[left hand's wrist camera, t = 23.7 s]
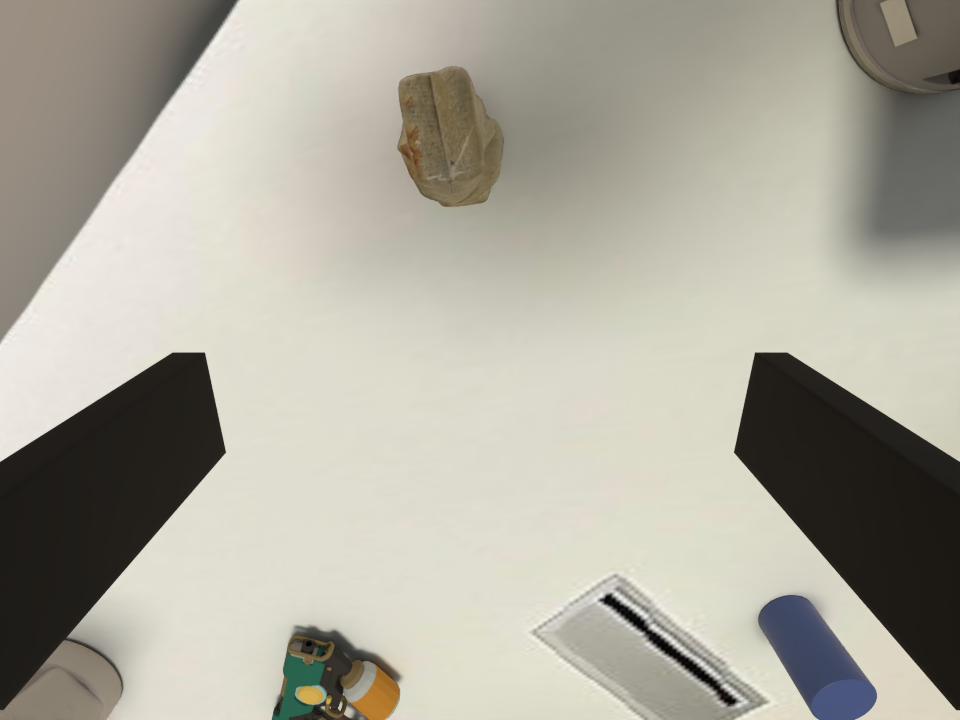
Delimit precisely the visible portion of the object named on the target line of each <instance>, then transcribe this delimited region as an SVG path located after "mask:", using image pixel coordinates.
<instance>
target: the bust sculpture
mask: <svg viewBox="0 0 960 720" xmlns="http://www.w3.org/2000/svg"><path fill="white" fill-rule="evenodd" d="M121 691H122V687H121V682H120V679H119V676H118V674H117V673H116V671H115V670H114V668H113V667H112V666H111V665H110V664H109V663H108V662H107V661H106V660H105V659H104V658H103V657H101V656H100V655H99V654H97V653H96V652H94V651H92V650H90V649H88V648H86V647H84V646H82V645H79V644H76V643H73V642H70V641H66V640H64V641H63V642H62V643H61V644H60V645H59V647H58V648H57V649H56V650H55V651H54V652H53V653H52V655H51V656H50V657H49V658H48V659H47V660H46V662H45V663H44V664H43V665H42V666H41V667H40V669H39V670H38V671H37V672H36V673H35V674H34V676H33V677H32V678H31V679H30V680H29V681H28V682H27V684H26V685H25V686H24V687H23V688H22V689H21V691H20V692H19V693H18V694H17V695H16V696H15V698H14V699H13V700H12V701H11V702H10V703H9V704H8V706H7V707H6V708H5V709H4V710H0V720H106V719H107V718H108V716H109V715H110V713H111V712H112V710H113V708H114V707H115V705H116V704H117V702H118V701H119V699H120V696H121Z"/></svg>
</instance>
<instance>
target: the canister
mask: <svg viewBox="0 0 960 720" xmlns="http://www.w3.org/2000/svg"><path fill="white" fill-rule="evenodd" d="M759 625H760V627H761V629H762V631H763V632H764V634H765V636H766V637H767V639H768V641H769V642H770V644H771V646H772V647H773V649H774V651H775V652H776V654H777V656H778V657H779V659H780V661H781V662H782V664H783V666H784V667H785V669H786V671H787V672H788V674H789V676H790V677H791V679H792V681H793V682H794V684H795V686H796V687H797V689H798V691H799V692H800V694H801V696H802V697H803V699H804V701H805V702H806V704H807V706H808V707H809V709H810V711H811V712H812V714H813V715H814V716H815V717H816V718H817V719H819V720H855V719H857V718H859V717H861V716H863V715H864V714H866V713H867V712H868V711H869V710H870V709H871V708H872V707H873V706H874V704H875V702H876V699H877V693H876V690H875V688H874V687H873V685H872V684H871V682H870V681H869V680H868V678H867V677H866V676H865V674H864V673H863V672H862V670H861V669H860V668H859V666H858V665H857V664H856V662H855V661H854V660H853V658H852V657H851V656H850V654H849V653H848V652H847V650H846V649H845V648H844V646H843V645H842V644H841V642H840V641H839V640H838V638H837V637H836V636H835V634H834V633H833V632H832V630H831V629H830V628H829V626H828V625H827V624H826V622H825V621H824V620H823V618H822V617H821V615H820V614H819V613H818V611H817V610H816V609H815V607H814V606H813V605H812V603H811V602H810V601H808V600H807V599H805V598H803V597H799V596H785V597H781V598H778V599H776V600H773V601H772V602H770V603H769V604H767V605H766V606H765V607H764V608H763V610H762V611H761V613H760V616H759Z"/></svg>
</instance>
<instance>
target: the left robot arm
mask: <svg viewBox="0 0 960 720" xmlns="http://www.w3.org/2000/svg"><path fill="white" fill-rule="evenodd" d="M838 5H839V15H840V21H841V26H842V30H843V34H844V37H845V40H846V42H847V45H848V47H849V49H850V51H851V53H852V54H853V56H854V58H855V59H856V61H857V62H858V63H859V65H860V66H861V67H862V68H863V69H864V70H865V71H866V72H867V73H868V74H869V75H870V76H871V77H873V78H874V79H875V80H877V81H878V82H880V83H882V84H883V85H885V86H888V87H890V88H892V89H895V90H899V91H902V92H908V93H917V94H927V93H938V92H945V91H952V90H957V89H960V0H838ZM225 453H226V451H225V446H224V441H223V436H222V432H221V427H220V422H219V417H218V413H217V408H216V403H215V398H214V394H213V389H212V384H211V379H210V375H209V370H208V365H207V360H206V356H205V353H171V354H170V355H168V356H167V357H165V358H163V359H162V360H160V361H159V362H157V363H156V364H154V365H152V366H151V367H149V368H148V369H146V370H145V371H143V372H141V373H140V374H138V375H137V376H135V377H134V378H132V379H130V380H129V381H127V382H126V383H124V384H122V385H121V386H119V387H118V388H116V389H115V390H113V391H111V392H110V393H108V394H107V395H105V396H104V397H102V398H100V399H99V400H97V401H96V402H94V403H92V404H91V405H89V406H88V407H86V408H85V409H83V410H81V411H80V412H78V413H77V414H75V415H74V416H72V417H70V418H69V419H67V420H66V421H64V422H62V423H61V424H59V425H58V426H56V427H55V428H53V429H51V430H50V431H48V432H47V433H45V434H44V435H42V436H40V437H39V438H37V439H36V440H34V441H32V442H31V443H29V444H28V445H26V446H25V447H23V448H21V449H20V450H18V451H17V452H15V453H14V454H12V455H10V456H9V457H7V458H6V459H4V460H3V461H1V462H0V710H4V709H5V708H6V707H7V706H8V704H9V703H10V702H11V701H12V700H13V699H14V698H15V696H16V695H17V694H18V693H19V692H20V691H21V689H22V688H23V687H24V686H25V685H26V684H27V682H28V681H29V680H30V679H31V678H32V677H33V676H34V674H35V673H36V672H37V671H38V670H39V669H40V667H41V666H42V665H43V664H44V663H45V662H46V660H47V659H48V658H49V657H50V656H51V655H52V653H53V652H54V651H55V650H56V649H57V648H58V647H59V645H60V644H61V643H62V642H63V641H64V640H65V638H66V637H67V636H68V635H69V634H70V633H71V631H72V630H73V629H74V628H75V627H76V626H77V625H78V623H79V622H80V621H81V620H82V619H83V618H84V616H85V615H86V614H87V613H88V612H89V611H90V609H91V608H92V607H93V606H94V605H95V604H96V602H97V601H98V600H99V599H100V598H101V597H102V596H103V594H104V593H105V592H106V591H107V590H108V589H109V587H110V586H111V585H112V584H113V583H114V582H115V580H116V579H117V578H118V577H119V576H120V575H121V574H122V572H123V571H124V570H125V569H126V568H127V567H128V565H129V564H130V563H131V562H132V561H133V560H134V558H135V557H136V556H137V555H138V554H139V553H140V551H141V550H142V549H143V548H144V547H145V546H146V545H147V543H148V542H149V541H150V540H151V539H152V538H153V536H154V535H155V534H156V533H157V532H158V531H159V529H160V528H161V527H162V526H163V525H164V524H165V523H166V521H167V520H168V519H169V518H170V517H171V516H172V514H173V513H174V512H175V511H176V510H177V509H178V507H179V506H180V505H181V504H182V503H183V502H184V500H185V499H186V498H187V497H188V496H189V495H190V494H191V492H192V491H193V490H194V489H195V488H196V487H197V485H198V484H199V483H200V482H201V481H202V480H203V478H204V477H205V476H206V475H207V474H208V473H209V472H210V470H211V469H212V468H213V467H214V466H215V465H216V463H217V462H218V461H219V460H220V459H221V458H222V456H223V455H224V454H225ZM734 453H735V454H736V455H737V456H738V458H739V459H740V460H741V461H742V462H743V463H744V465H745V466H746V467H747V468H748V469H749V470H750V472H751V473H752V474H753V475H754V476H755V477H756V478H757V480H758V481H759V482H760V483H761V484H762V485H763V487H764V488H765V489H766V490H767V491H768V492H769V494H770V495H771V496H772V497H773V498H774V499H775V500H776V502H777V503H778V504H779V505H780V506H781V507H782V509H783V510H784V511H785V512H786V513H787V514H788V516H789V517H790V518H791V519H792V520H793V521H794V523H795V524H796V525H797V526H798V527H799V528H800V529H801V531H802V532H803V533H804V534H805V535H806V536H807V538H808V539H809V540H810V541H811V542H812V543H813V545H814V546H815V547H816V548H817V549H818V550H819V551H820V553H821V554H822V555H823V556H824V557H825V558H826V560H827V561H828V562H829V563H830V564H831V565H832V567H833V568H834V569H835V570H836V571H837V572H838V574H839V575H840V576H841V577H842V578H843V579H844V580H845V582H846V583H847V584H848V585H849V586H850V587H851V589H852V590H853V591H854V592H855V593H856V594H857V596H858V597H859V598H860V599H861V600H862V601H863V602H864V604H865V605H866V606H867V607H868V608H869V609H870V611H871V612H872V613H873V614H874V615H875V616H876V618H877V619H878V620H879V621H880V622H881V623H882V625H883V626H884V627H885V628H886V629H887V630H888V631H889V633H890V634H891V635H892V636H893V637H894V638H895V640H896V641H897V642H898V643H899V644H900V645H901V647H902V648H903V649H904V650H905V651H906V652H907V653H908V655H909V656H910V657H911V658H912V659H913V660H914V662H915V663H916V664H917V665H918V666H919V667H920V669H921V670H922V671H923V672H924V673H925V674H926V676H927V677H928V678H929V679H930V680H931V681H932V682H933V684H934V685H935V686H936V687H937V688H938V689H939V691H940V692H941V693H942V694H943V695H944V696H945V698H946V699H947V700H948V701H949V702H950V703H951V704H952V706H953V707H954V708H955V709H956V710H960V462H959V461H957V460H956V459H954V458H953V457H951V456H950V455H948V454H946V453H945V452H943V451H942V450H940V449H939V448H937V447H935V446H934V445H932V444H931V443H929V442H928V441H926V440H924V439H923V438H921V437H920V436H918V435H916V434H915V433H913V432H912V431H910V430H909V429H907V428H905V427H904V426H902V425H901V424H899V423H898V422H896V421H894V420H893V419H891V418H890V417H888V416H886V415H885V414H883V413H882V412H880V411H879V410H877V409H875V408H874V407H872V406H871V405H869V404H868V403H866V402H864V401H863V400H861V399H860V398H858V397H856V396H855V395H853V394H852V393H850V392H849V391H847V390H845V389H844V388H842V387H841V386H839V385H838V384H836V383H834V382H833V381H831V380H830V379H828V378H826V377H825V376H823V375H822V374H820V373H819V372H817V371H815V370H814V369H812V368H811V367H809V366H808V365H806V364H804V363H803V362H801V361H800V360H798V359H796V358H795V357H793V356H792V355H790V354H789V353H755V356H754V360H753V365H752V370H751V375H750V379H749V384H748V389H747V394H746V398H745V403H744V408H743V413H742V417H741V422H740V427H739V432H738V436H737V441H736V446H735V451H734Z"/></svg>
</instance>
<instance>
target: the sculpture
mask: <svg viewBox="0 0 960 720" xmlns="http://www.w3.org/2000/svg"><path fill="white" fill-rule="evenodd" d="M399 101H400V107H401V112H402V117H403V127H402V133H401V137H400V140H399V143H398V150H399V152H401V154H402V157H403V159H404V162H405V164H406V166H407V169H408V171H409V174H410V176H411V178H412V179H413V180H414V182H415V184H416V186H417V187H418V189H419V191H420V193H421V194H422V195H423V196H425V197H427V198H429V199H431V200H435V201H438V202H439V203H440V204H441V205H442V206H445V207H453V206H465V205H472V204H478V203H483V202H485V201H486V200H487V199H488V196H489V193H490V189H491V186H492V185H493V184H494V183H495V182H496V181H497V179H498V177H499V173H500V165H501V158H502V152H503V142H504V141H503V135H502V132H501V129H500V127H499V125H498V123H497V122H496V120H495V119H491V118H489V117H488V116H487V114H486V111H485V108H484V104H483V102H482V100H481V99H480V97H479V96H477V95H475V91H474V87H473V84H472V81H471V79H470V77H469V75H468V73H467V71H466V70H465V69H463V68H461V67H446V68H444V69H442V70H439V71H435V72H429V73H421V74H414V75H411V76H407V77H405V78H404V79H402V80H401V81H400V82H399Z"/></svg>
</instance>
